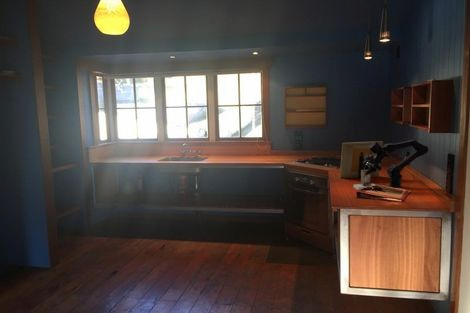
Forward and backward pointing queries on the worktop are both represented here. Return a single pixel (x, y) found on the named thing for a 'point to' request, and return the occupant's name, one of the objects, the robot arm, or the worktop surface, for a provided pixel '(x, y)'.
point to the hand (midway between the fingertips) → (363, 174)
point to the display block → (361, 186)
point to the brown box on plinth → (365, 178)
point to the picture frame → (355, 158)
